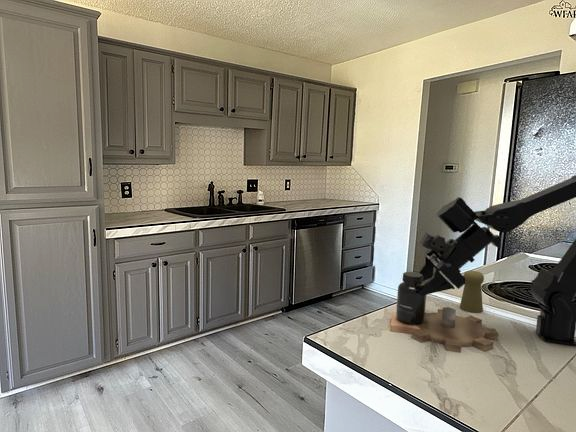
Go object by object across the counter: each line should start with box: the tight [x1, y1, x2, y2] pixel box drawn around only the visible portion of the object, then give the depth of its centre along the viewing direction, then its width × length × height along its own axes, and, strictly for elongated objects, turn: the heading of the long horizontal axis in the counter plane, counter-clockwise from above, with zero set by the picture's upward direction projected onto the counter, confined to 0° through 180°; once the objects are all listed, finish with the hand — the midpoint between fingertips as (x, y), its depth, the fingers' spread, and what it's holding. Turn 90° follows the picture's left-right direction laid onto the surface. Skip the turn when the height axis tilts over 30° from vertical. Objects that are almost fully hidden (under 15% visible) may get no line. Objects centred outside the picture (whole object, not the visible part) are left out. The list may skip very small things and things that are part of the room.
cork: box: [459, 270, 485, 314], centre depth 105 cm, size 6×6×11 cm
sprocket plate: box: [389, 306, 500, 353], centre depth 91 cm, size 24×21×6 cm
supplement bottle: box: [395, 271, 427, 325], centre depth 93 cm, size 7×7×12 cm
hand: (416, 288), depth 92 cm, fingers open, 9 cm apart
